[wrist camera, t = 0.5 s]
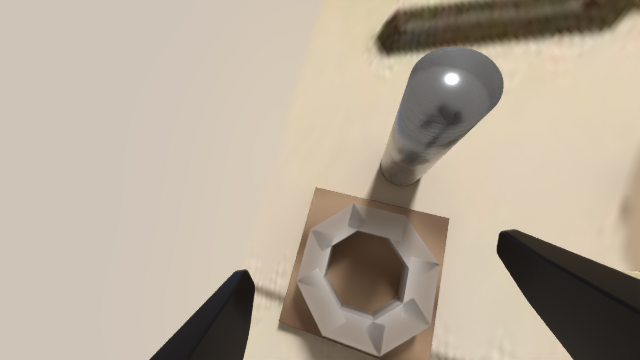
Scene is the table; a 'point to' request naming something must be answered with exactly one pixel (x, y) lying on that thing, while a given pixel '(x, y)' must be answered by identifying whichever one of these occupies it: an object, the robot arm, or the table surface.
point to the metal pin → (439, 110)
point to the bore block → (368, 276)
